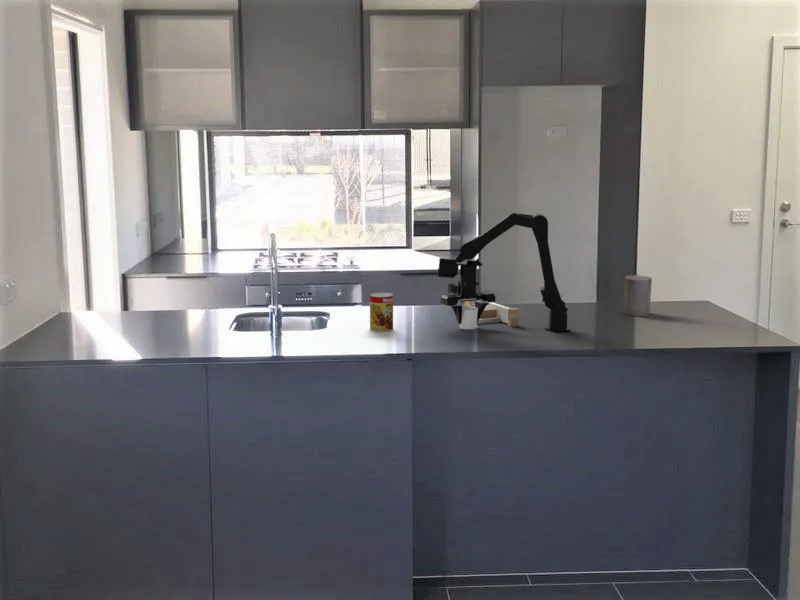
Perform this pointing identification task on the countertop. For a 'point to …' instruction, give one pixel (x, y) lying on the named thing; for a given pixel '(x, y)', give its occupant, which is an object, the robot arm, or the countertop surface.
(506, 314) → the sliding door
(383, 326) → the canned food
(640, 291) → the pillar candle
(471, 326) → the white grey-rimmed cylinder
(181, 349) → the countertop surface
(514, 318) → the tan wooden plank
